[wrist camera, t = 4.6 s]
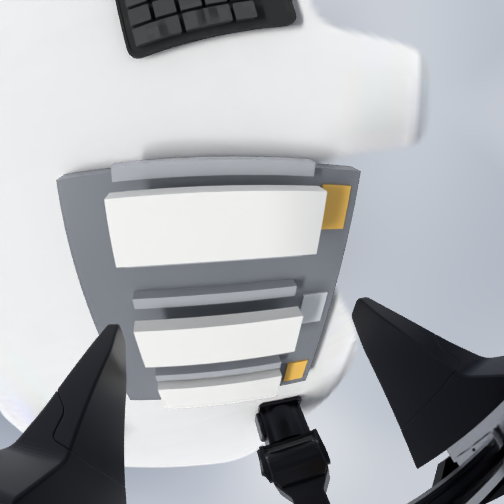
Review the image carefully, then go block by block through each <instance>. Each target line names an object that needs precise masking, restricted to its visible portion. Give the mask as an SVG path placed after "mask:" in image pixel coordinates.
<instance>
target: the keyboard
mask: <svg viewBox="0 0 504 504" xmlns="http://www.w3.org/2000/svg"><path fill="white" fill-rule="evenodd" d="M115 1H116V5H117V10H118V15H119V19H120V23H121V27H122V32H123V36H124V40H125V44H126V48H127V51H128V53H129V54H130V55H131V56H132V57H133V58H137V59H138V58H142V57H145V56H148V55H151V54H154V53H157V52H160V51H163V50H166V49H169V48H172V47H176V46H179V45H183V44H186V43H190V42H194V41H198V40H202V39H206V38H210V37H215V36H219V35H224V34H230V33H235V32H241V31H247V30H254V29H262V28H271V27H281V26H288V25H290V24H291V23H293V22H294V21H295V20H296V13H295V10H294V7H293V4H292V0H115Z"/></svg>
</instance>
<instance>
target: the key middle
mask: <svg viewBox="0 0 504 504" xmlns="http://www.w3.org/2000/svg"><path fill="white" fill-rule="evenodd" d="M302 319H303V314H302V313H301V311H300V309H299V307H298V306H295V307H288V308H280V309H272V310H264V311H255V312H246V313H236V314H226V315H215V316H204V317H191V318H177V319H161V320H142V321H135V323H134V331H133V332H134V335H135V338H136V342H137V345H138V348H139V351H140V353H141V356H142V359H143V362H144V365H145V368H147V367H170V366H185V365H198V364H209V363H219V362H228V361H236V360H244V359H251V358H258V357H265V356H271V355H277V354H283V353H289V352H294V351H295V347H296V344H297V340H298V336H299V331H300V327H301V323H302Z"/></svg>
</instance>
